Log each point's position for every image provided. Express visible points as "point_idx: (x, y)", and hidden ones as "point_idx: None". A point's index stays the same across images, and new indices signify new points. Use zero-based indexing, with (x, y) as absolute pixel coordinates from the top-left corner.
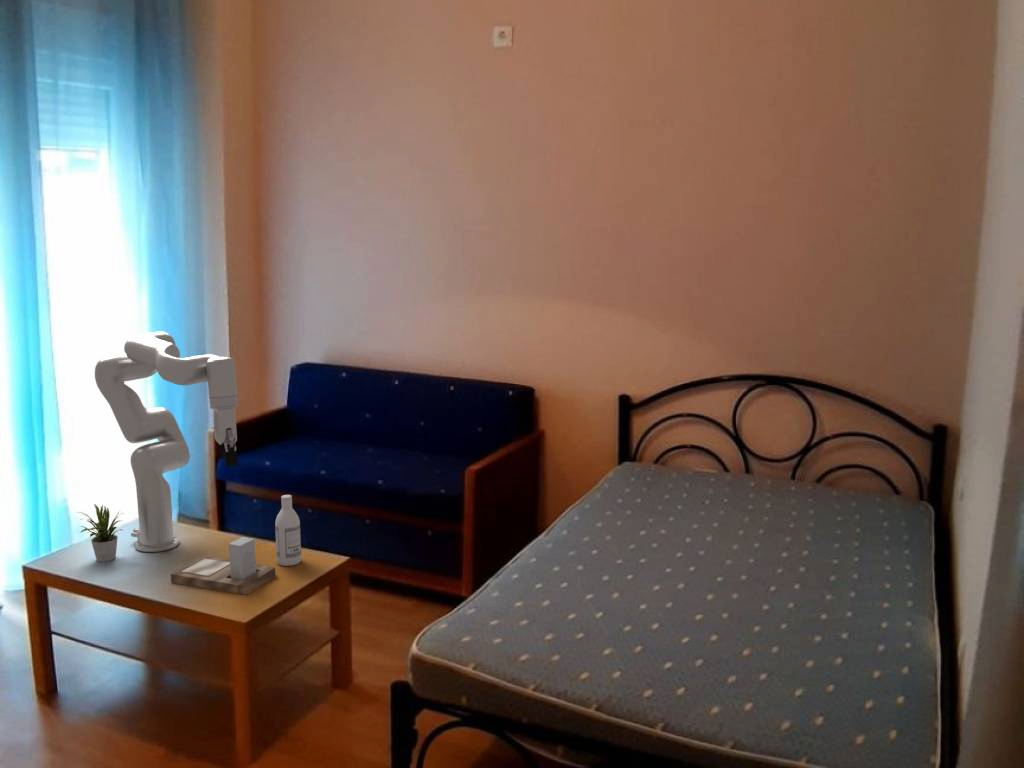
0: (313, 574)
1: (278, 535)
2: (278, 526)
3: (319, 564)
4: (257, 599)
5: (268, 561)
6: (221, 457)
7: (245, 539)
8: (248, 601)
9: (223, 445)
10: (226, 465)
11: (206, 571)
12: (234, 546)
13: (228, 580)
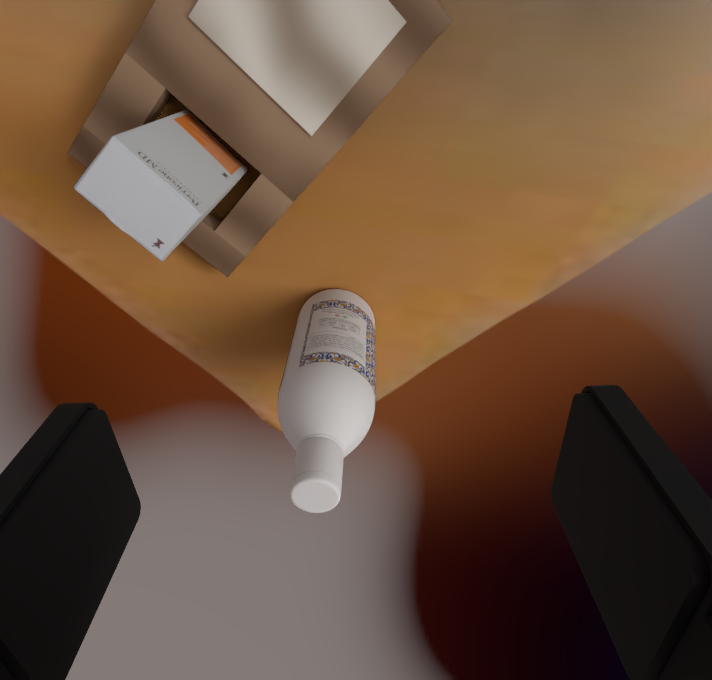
0: (216, 359)
1: (303, 347)
2: (298, 370)
3: None
4: (43, 178)
5: (370, 265)
6: (582, 406)
7: (158, 224)
8: (28, 146)
9: (668, 618)
10: (63, 409)
11: (242, 11)
12: (94, 160)
13: (132, 97)
